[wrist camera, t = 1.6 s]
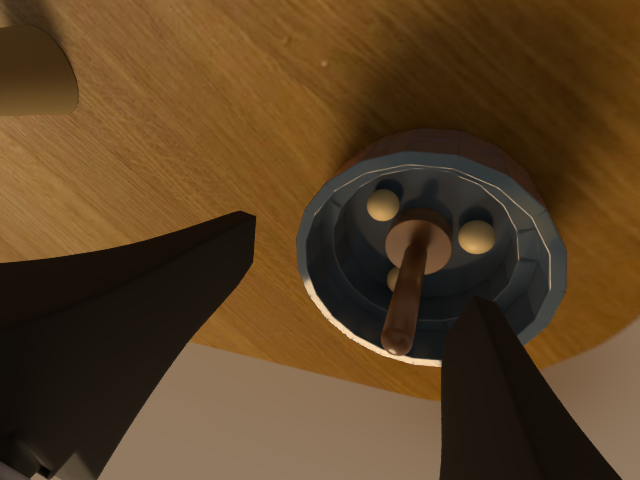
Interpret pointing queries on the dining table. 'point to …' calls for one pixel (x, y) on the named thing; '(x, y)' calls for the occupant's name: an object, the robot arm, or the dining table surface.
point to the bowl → (463, 267)
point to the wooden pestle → (412, 270)
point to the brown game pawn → (34, 74)
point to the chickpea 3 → (477, 237)
